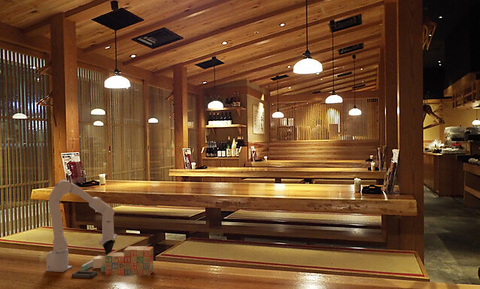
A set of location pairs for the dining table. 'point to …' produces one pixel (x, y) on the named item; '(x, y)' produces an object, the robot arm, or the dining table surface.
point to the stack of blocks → (130, 262)
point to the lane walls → (90, 264)
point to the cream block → (98, 261)
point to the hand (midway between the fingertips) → (108, 254)
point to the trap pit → (84, 274)
